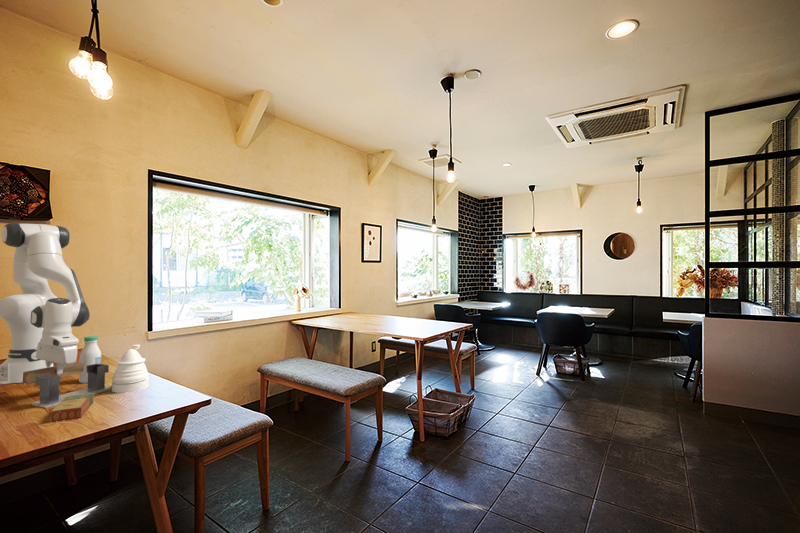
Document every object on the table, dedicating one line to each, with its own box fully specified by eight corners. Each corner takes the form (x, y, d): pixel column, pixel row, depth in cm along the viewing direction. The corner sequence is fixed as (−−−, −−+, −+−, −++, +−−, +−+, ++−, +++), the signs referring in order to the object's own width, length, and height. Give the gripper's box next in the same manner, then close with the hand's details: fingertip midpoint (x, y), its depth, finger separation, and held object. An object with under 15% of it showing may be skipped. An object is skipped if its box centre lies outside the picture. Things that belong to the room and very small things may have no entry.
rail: (22, 382, 141) (23, 372, 141) (77, 371, 158) (78, 361, 158) (28, 384, 140) (29, 373, 140) (83, 372, 157) (83, 363, 157)
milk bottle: (88, 384, 162) (89, 338, 162) (74, 382, 164) (75, 337, 164) (105, 378, 170) (106, 335, 170) (91, 377, 171) (92, 334, 171)
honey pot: (139, 381, 166) (140, 341, 167) (154, 386, 160) (155, 345, 160) (105, 389, 155) (106, 346, 155) (120, 395, 149) (121, 350, 149)
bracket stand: (32, 405, 137) (32, 377, 137) (97, 387, 158) (97, 362, 158) (46, 408, 134) (46, 379, 134) (110, 389, 155) (110, 364, 155)
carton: (49, 423, 122) (49, 411, 122) (64, 407, 136) (64, 396, 136) (81, 419, 126) (82, 406, 126) (93, 403, 140) (93, 392, 140)
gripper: (31, 336, 150) (29, 370, 150) (62, 343, 143) (60, 378, 143) (51, 334, 156) (48, 367, 156) (81, 340, 149) (79, 374, 149)
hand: (54, 372), depth 149 cm, fingers closed on rail, 4 cm apart
